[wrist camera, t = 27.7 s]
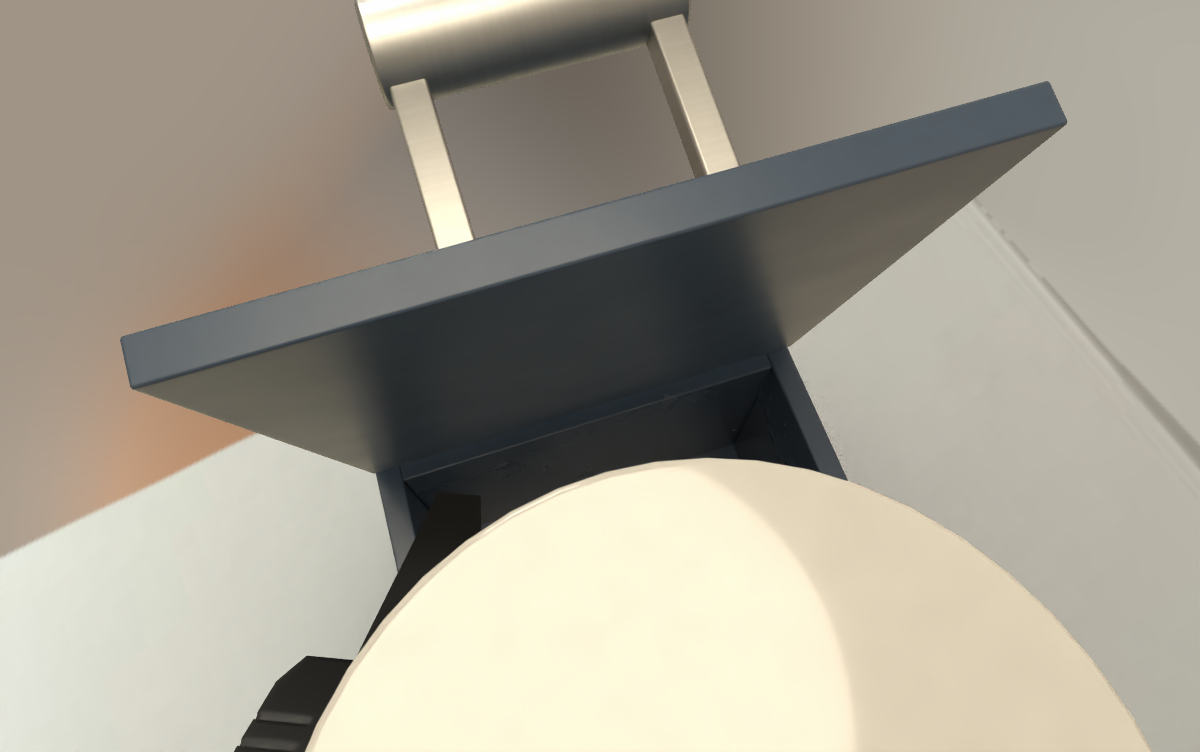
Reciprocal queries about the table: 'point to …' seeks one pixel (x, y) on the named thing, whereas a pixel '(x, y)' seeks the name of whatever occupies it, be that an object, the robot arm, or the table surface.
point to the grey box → (622, 442)
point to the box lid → (573, 252)
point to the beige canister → (721, 631)
